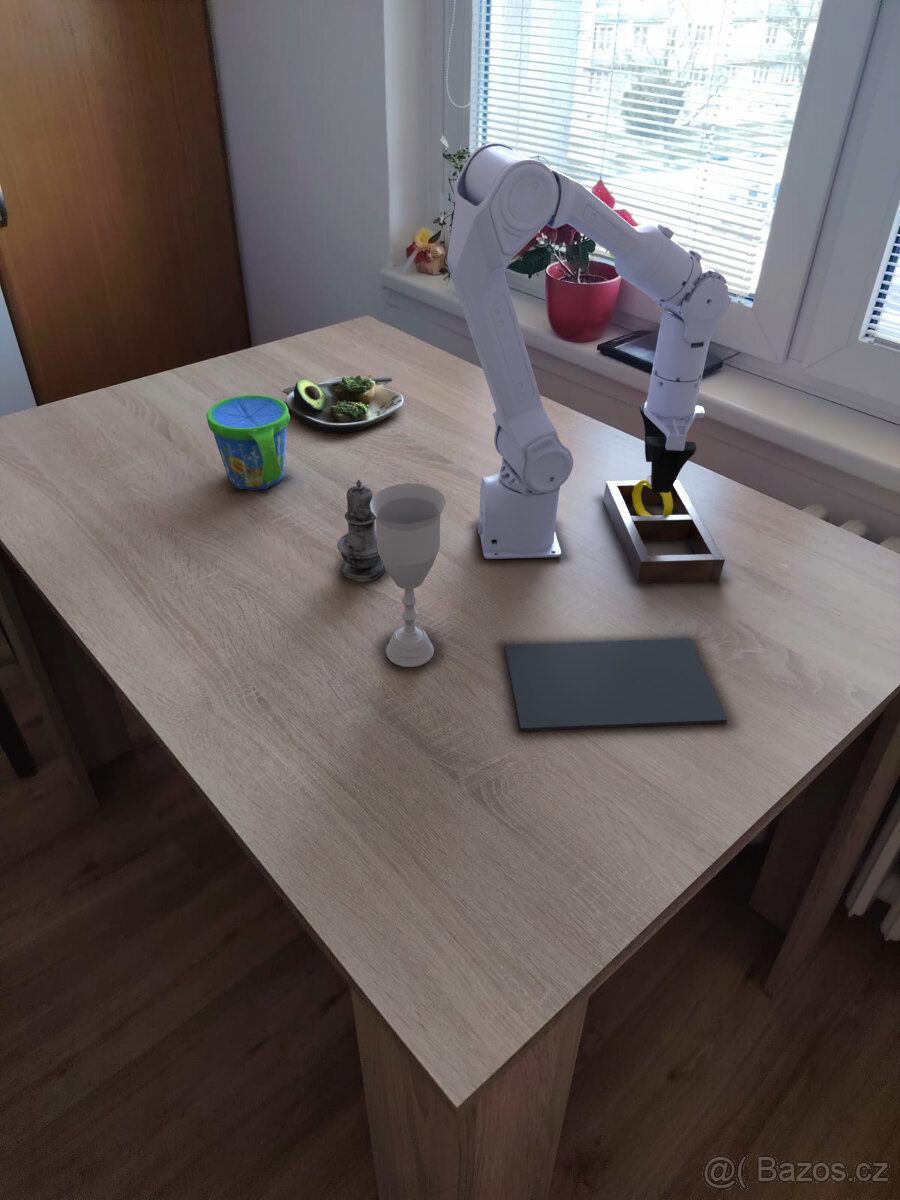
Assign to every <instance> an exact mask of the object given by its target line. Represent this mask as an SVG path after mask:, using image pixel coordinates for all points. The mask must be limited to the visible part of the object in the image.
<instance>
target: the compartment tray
mask: <svg viewBox="0 0 900 1200" xmlns="http://www.w3.org/2000/svg"><path fill="white" fill-rule="evenodd" d="M639 481H640V480H606V481H605V487H604V493H603V500H602V501H603V503H604V506H605V508H606V511H607V513H608V515H609V518H610V520H611V522H612V525H613V527H614V529H615V532H616V534H617V535H616V536H617V537H618V539H619V542H620V543H621V546H622V549H623V551H624V553H625V556H626V558H627V561H628V563H629V565H630V568H631V571H632V573H633V575H634V577H635V580H636V582H637V583H664V582H665V583H668V582H700V581H701V582H703V581H720V579H721V577H722V576H721V575H722V572H723V569H724V565H725V561H726V559H725V557H724V555H723V554H722V552H721V550H720V548H719V546H718V545H717V543H716V541H715V540H714V537H713V536H712V535H711V533H710V531H709V530H708V528H707V526H706V524H705V523H704V520H703V519H702V517H701V516H700V514H699V512H698V510H697V509H696V507H695V505H694V503H693V501H692V500H691V498H690V497H689V495H688V494H687V492H686V489H685V488H684V486H683V485H682V483H681V481H680V479H676V480H675V482H674V485H673V486H672V488H671V490H670V493H671V495H672V500H673V510H672V514H671V515H663V514H662V515H661V514H659V515H655V514H654V515H652V516H639V515H631V513H630V511H629V509H628V507H627V505H633V502H632V492H633V489H634V486H635V485H636V484H637V483H638V482H639ZM641 502H642V504H643V505H664V503H663V498H662V496H661V494H660V492H652V489H650V488H648V487H647V486H646V484H644V485H643V487H642V490H641ZM678 540H679V541H680V540H681V541H683V540H688V542H689V544H690V546H691V548H692V550H693V552H694V554H664V555H663V554H662V555H649V553H648V551H647V549H646V547H645V543H644V542H643V541H678Z"/></svg>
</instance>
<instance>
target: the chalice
mask: <svg viewBox="0 0 900 1200" xmlns="http://www.w3.org/2000/svg"><path fill="white" fill-rule="evenodd" d="M446 502H447V501H446V498H445V495H444V494H443V493H442V492H441V491H440V490H439V489H437V488H434V487H433V486H430V485H426V484H422V483H409V482H408V483H399V484H394V485H391V486H388V487H385V488H383V489H381V490H379V491H377V492H376V493H375V494H374V495H373V498H372V500H371V502H370V508H371V511H372V513H373V514H374V516H375V517H376V519H375V526H376V527H375V531H376V532H377V549H378V554H379V556H380V558H381V560H382V563H383V565H384V567H385V569H386V572H387V573H388V575H389V576H390V578H391V579H392V581H393V582H394V584H395V585H396V586H397V587H398V588H400V589H403V590H404V594H403V597H402V598H401V603H402V604H403V606H404V610H403V611H401V613H400V617H401V619H403V620H404V624H405V625H403V626H400V627H398V628H397V629H396V630H395V631H394V632H393V634H392V636H391V638H390V640H389V643H388V644H387V646H386V649H385V654H386V657H387V658H388V660H389V661H390V662H392V663H393V664H395V665H398V666H401V667H405V668H406V667H407V668H413V667H419V666H422V665H424V664H426V663H428V662H429V661H430V660H431V659H432V658H433V656H434V655H435V648H434V645H433V644H432V642H431V639H430V638H429V637H428V634H427V632H426V631H425V630H424V629H422V628H421V627H419V626H418V625H415V620H416V619H417V618H418V617H419V613H418V610H416V609H415V604H416V603H417V602H418V597H417V596H416V594H415V589H417V588H419V587H421V586H422V585H423V583H424V581H425V579H426V578H427V576H428V574H429V572H430V571H431V569H432V567H433V566H434V563H435V561H436V558H437V556H438V553H439V550H440V546H441V514H442V513H443V511H444V510H445V508H446V507H445V506H446Z"/></svg>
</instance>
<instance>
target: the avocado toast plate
mask: <svg viewBox="0 0 900 1200" xmlns="http://www.w3.org/2000/svg"><path fill="white" fill-rule="evenodd" d="M393 379H394V378H393V377H392V376H381V377H372V375H370V374H369V375H367V378H364V377H362V376H361V374H358V375H357V376H353V375H352V376H337V377H333V378H330V379H327V380H325V381H322V382H319V383H315V382H314V381H312V380H309V379H306V378H301V379H298V380H297V381H296V383H295V385H294V386H291V387H287V388H284V389H283V390H282V391H281V393H284V394H285V395H286V399H285V404H286V406H287V407H288V411H289V412H290V413H291V414H292V415H293V416H294V418H295V419H297V420H299V421H300V422H302V423H303V424H304V425H307V426H309V427H310V428H312V429H314V430H317V431H321V432H325V433H330V434H348V433H349V434H350V433H353V432H357V431H360V430H363V429H365V428H367V427H370V426H373V425H376V424H377V423H379V422H380V421H382V420H384V419H386V418H387V417H389V416H391V415H392V414H394V413H396V412H398V411H399V410H400V409H401V408H402V407H403V406H404V404H405V397H404V396H403V395H402V394H401V393H399V392H396V391H395V390H391V389H388V388H386V387H385V385H387V384H389V383H392V382H393Z"/></svg>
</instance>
